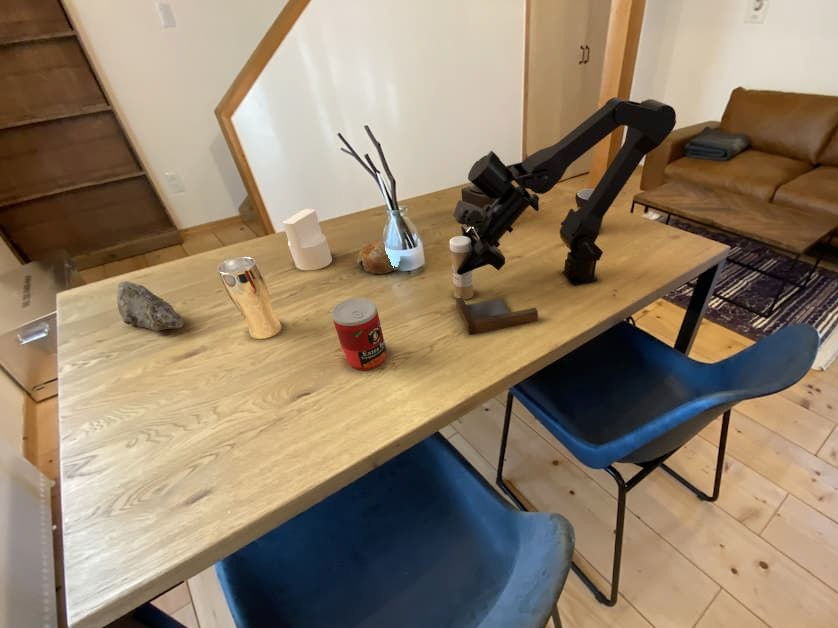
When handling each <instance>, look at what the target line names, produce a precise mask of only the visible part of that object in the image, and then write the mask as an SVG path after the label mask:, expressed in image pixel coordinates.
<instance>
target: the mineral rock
mask: <svg viewBox="0 0 838 628" xmlns="http://www.w3.org/2000/svg"><path fill="white" fill-rule="evenodd" d="M116 301H117V309H118V310H117V311H118V312H119V315H120V316H121V320H122V322H123V323H124V324H126V325H135V326H137V327H140V328H146V329H149V330H150V331H151V332H152V331H153V332H158V331H162V330H167V329H180V328H182V327H183V326H184V319H183V317H182V316H181V315H180V313H178V312H176V311H175V309H174V307H173V306H172V305H171V304H170V303H169V302H167V301H165V300H164V299H163V298H161V297H159V296H157V295H156V294H155V293H153V292H152V291H150V289H148V288H147V287H145V286H144V285H142V284H138V283H133V282H130V281H127V280H125V281H124V280H123V281H120V282H118V285H117V290H116Z"/></svg>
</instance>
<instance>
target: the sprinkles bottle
mask: <svg viewBox="0 0 838 628" xmlns="http://www.w3.org/2000/svg"><path fill="white" fill-rule="evenodd" d="M469 242H470V243H471V239H470V238H468V237H466V236H462V235H456V236H453V237H451V238H450V239H449V250H450V252H451V266H452V267H451V268H452V280H453V281H452V282H453V288H454V292H453V296H454V297H455V299H456V298H461V297H462V298H463V300H464V301H465V300H469V299H471V298H473V297H474V295H475V294H474V293H475V292H474V285H473V283H474V279H473V277H474V276H473V270H472V271H469V272H467V273H464V274H462V275H459V274H458V273H457V270H458V268H459V266H460V265H461V263H462V262H463V260H464V259H465V258H466V256H467V255H468V253H469Z"/></svg>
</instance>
